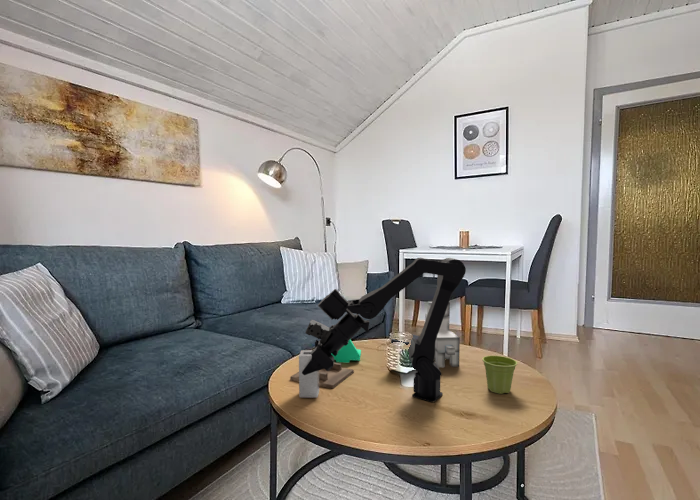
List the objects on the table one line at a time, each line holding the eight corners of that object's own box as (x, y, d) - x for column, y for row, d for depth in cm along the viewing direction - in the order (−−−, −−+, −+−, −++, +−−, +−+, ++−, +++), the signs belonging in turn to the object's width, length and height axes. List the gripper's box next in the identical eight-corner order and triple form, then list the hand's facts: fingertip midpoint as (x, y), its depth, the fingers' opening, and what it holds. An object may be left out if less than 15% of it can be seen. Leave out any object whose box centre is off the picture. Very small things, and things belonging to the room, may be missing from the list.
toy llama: (440, 370, 127) (440, 310, 126) (424, 353, 145) (425, 300, 144) (462, 369, 128) (463, 309, 127) (444, 352, 145) (445, 300, 144)
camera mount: (361, 356, 142) (361, 328, 141) (359, 363, 134) (359, 334, 133) (328, 355, 143) (328, 327, 142) (325, 362, 135) (325, 333, 135)
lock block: (319, 389, 110) (318, 349, 110) (317, 397, 105) (317, 355, 105) (301, 389, 110) (301, 349, 110) (299, 397, 105) (298, 355, 105)
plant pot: (485, 381, 118) (485, 353, 117) (518, 387, 113) (519, 358, 113) (478, 392, 110) (479, 362, 109) (514, 399, 105) (514, 368, 105)
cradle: (353, 372, 125) (353, 363, 125) (333, 388, 112) (333, 378, 112) (313, 365, 131) (313, 356, 131) (290, 379, 119) (290, 370, 119)
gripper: (325, 304, 116) (289, 340, 116) (319, 318, 97) (276, 361, 98) (351, 330, 116) (315, 366, 117) (351, 349, 97) (308, 392, 98)
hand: (304, 370), depth 107 cm, fingers closed on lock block, 5 cm apart
